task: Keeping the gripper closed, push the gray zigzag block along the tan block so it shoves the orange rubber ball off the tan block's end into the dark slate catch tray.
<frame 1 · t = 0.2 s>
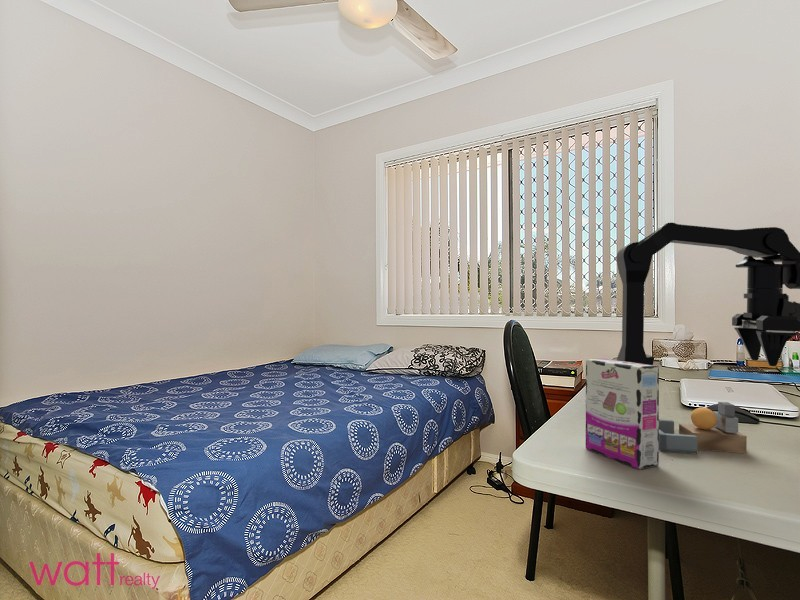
hand: (763, 363, 91), 14 cm above the table, fingers open, 9 cm apart
gray zigzag block: (724, 416, 80), point 6 cm above the table, slide at 0.0 cm
tray: (666, 442, 82), on the table
tan block: (711, 445, 80), on the table
candy bar box: (620, 458, 74), on the table
ball: (703, 418, 81), point 5 cm above the table, touching tan block
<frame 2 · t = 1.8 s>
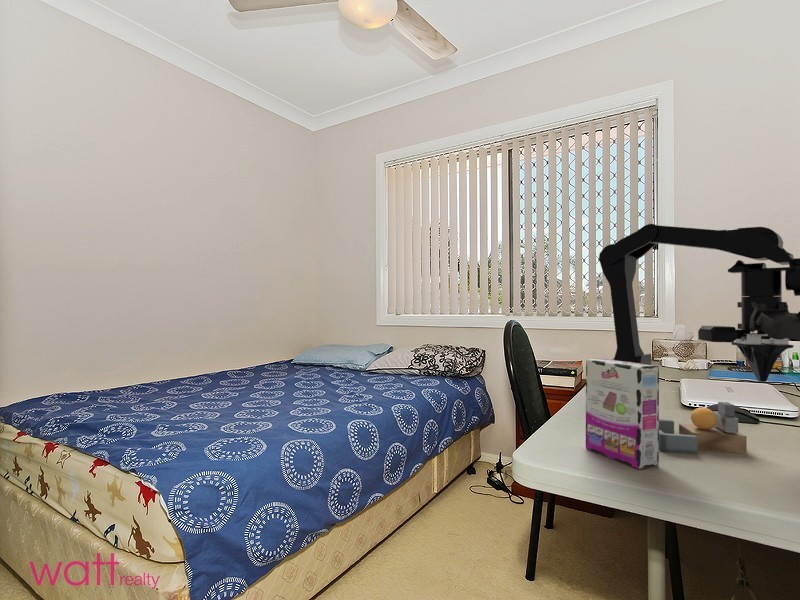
hand: (761, 381, 79), 12 cm above the table, fingers closed
nothing on the table moved.
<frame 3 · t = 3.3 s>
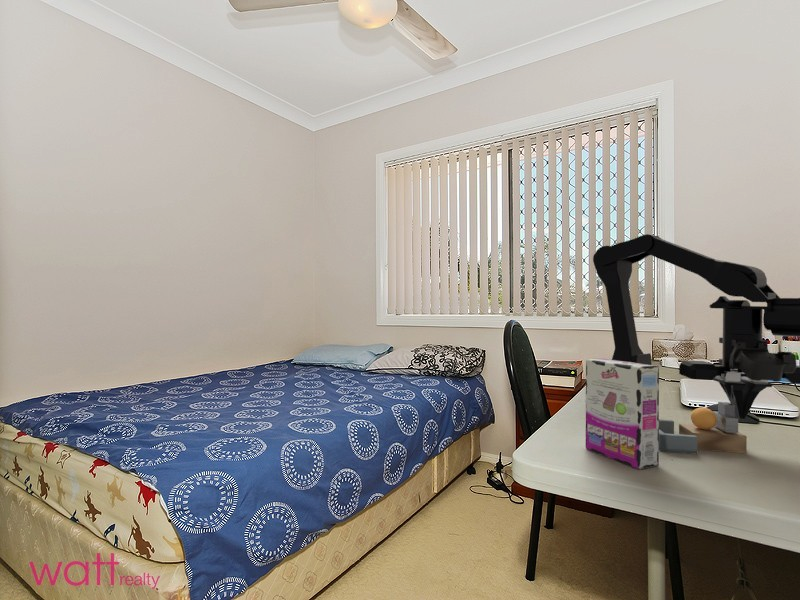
hand: (741, 418, 79), 5 cm above the table, fingers closed
gray zigzag block: (724, 416, 80), point 6 cm above the table, slide at 0.0 cm, touching gripper
everything else where it was.
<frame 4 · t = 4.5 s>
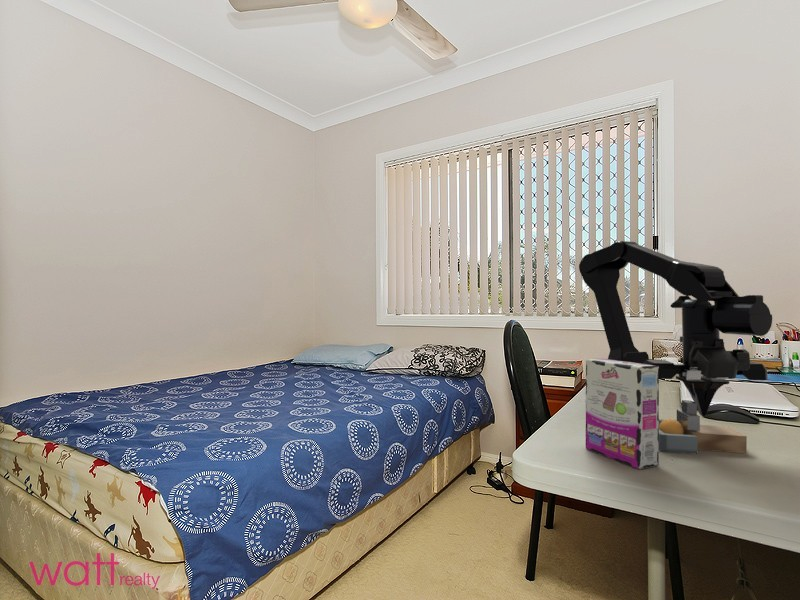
hand: (702, 415, 81), 5 cm above the table, fingers closed
gray zigzag block: (687, 414, 81), point 6 cm above the table, slide at 6.1 cm, touching ball, gripper
ball: (671, 429, 82), point 2 cm above the table, tilted 178°, touching gray zigzag block, tray
everything else where it was.
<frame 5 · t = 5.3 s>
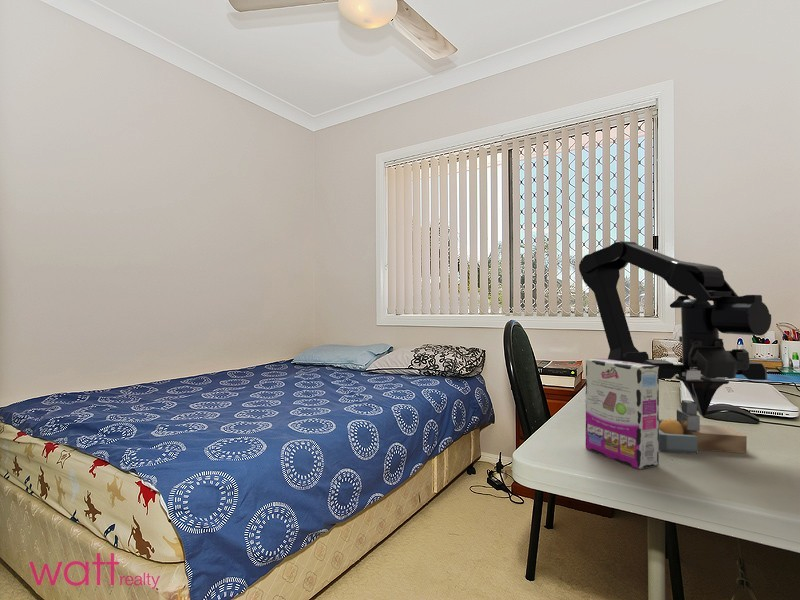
hand: (702, 415, 81), 6 cm above the table, fingers closed
nothing on the table moved.
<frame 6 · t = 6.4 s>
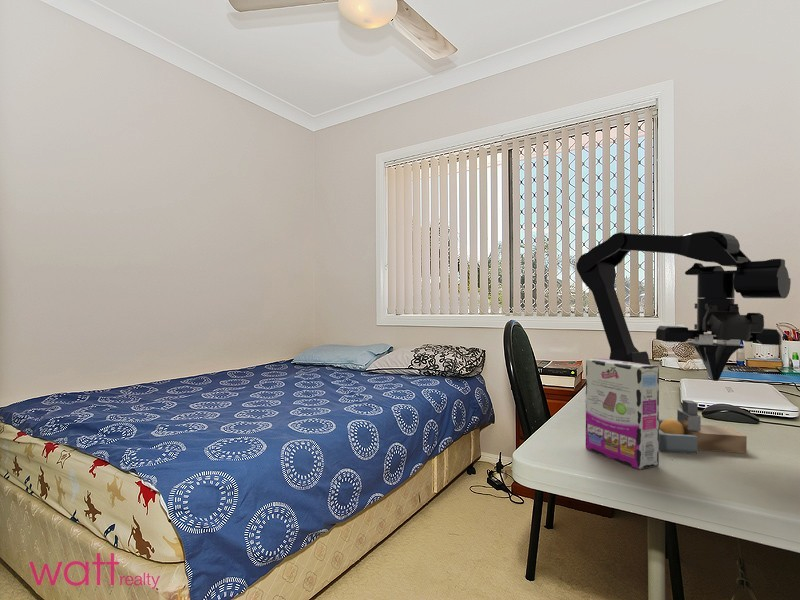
hand: (714, 380, 82), 12 cm above the table, fingers closed
gray zigzag block: (688, 414, 81), point 6 cm above the table, slide at 6.0 cm, touching ball
everything else where it was.
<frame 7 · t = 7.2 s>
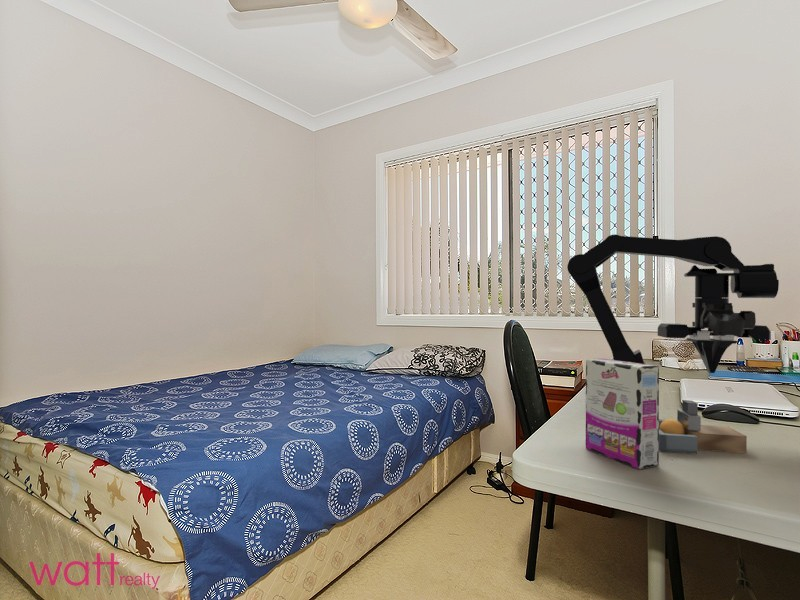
hand: (711, 372, 90), 12 cm above the table, fingers closed
nothing on the table moved.
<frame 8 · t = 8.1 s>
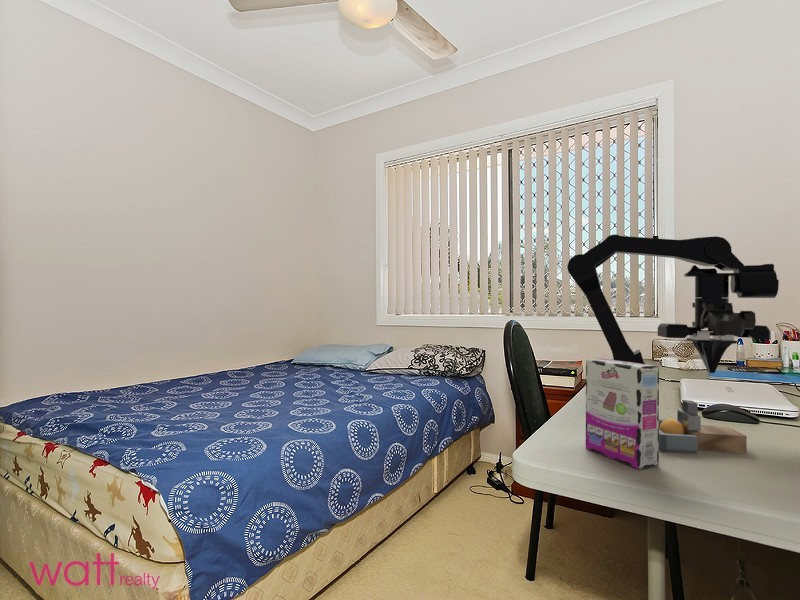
hand: (711, 372, 90), 12 cm above the table, fingers closed
nothing on the table moved.
at the end: ball inside the target area (0.6 cm from its centre), point 2.5 cm above the table; gray zigzag block slide at 6.0 cm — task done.
